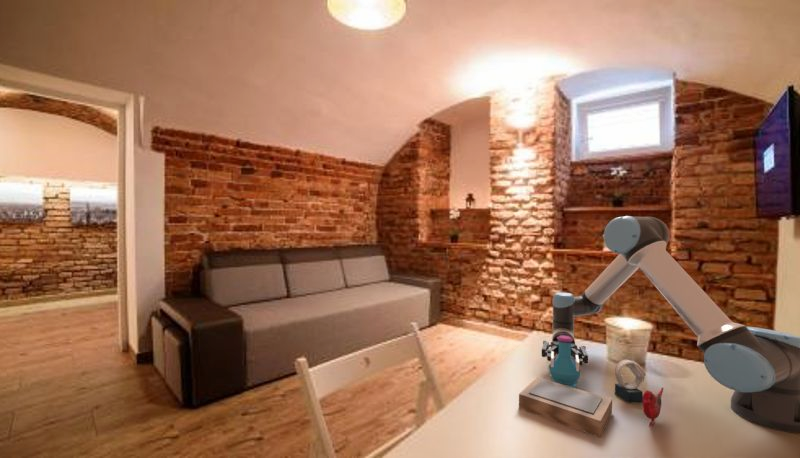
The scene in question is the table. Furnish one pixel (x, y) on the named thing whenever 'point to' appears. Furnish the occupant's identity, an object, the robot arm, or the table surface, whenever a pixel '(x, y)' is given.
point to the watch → (626, 389)
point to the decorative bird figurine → (652, 405)
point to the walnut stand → (567, 405)
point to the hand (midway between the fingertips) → (564, 364)
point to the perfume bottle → (564, 364)
